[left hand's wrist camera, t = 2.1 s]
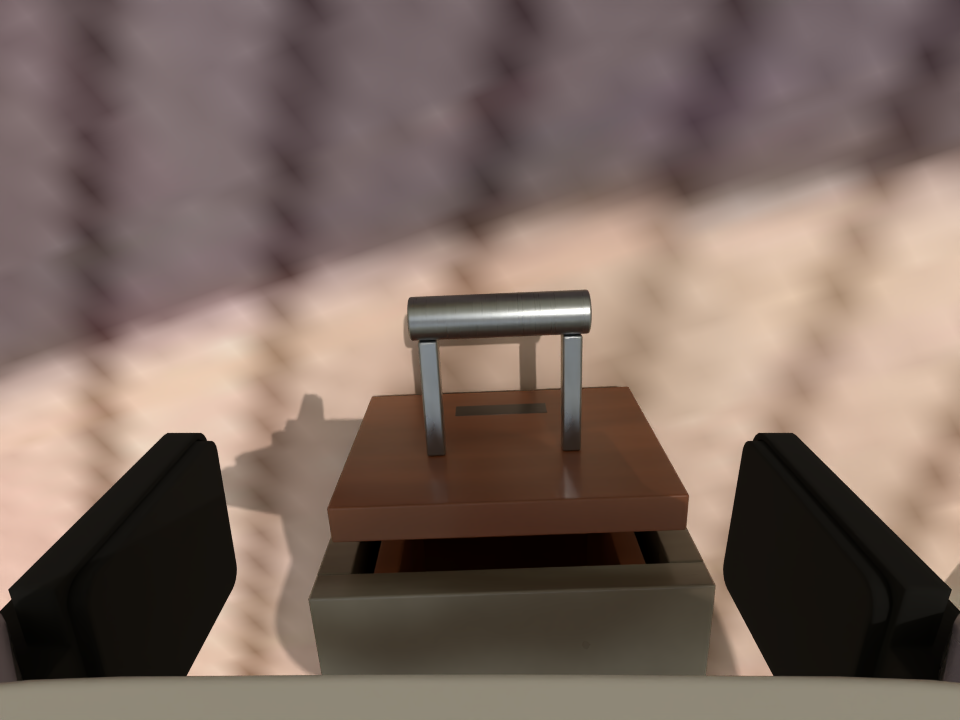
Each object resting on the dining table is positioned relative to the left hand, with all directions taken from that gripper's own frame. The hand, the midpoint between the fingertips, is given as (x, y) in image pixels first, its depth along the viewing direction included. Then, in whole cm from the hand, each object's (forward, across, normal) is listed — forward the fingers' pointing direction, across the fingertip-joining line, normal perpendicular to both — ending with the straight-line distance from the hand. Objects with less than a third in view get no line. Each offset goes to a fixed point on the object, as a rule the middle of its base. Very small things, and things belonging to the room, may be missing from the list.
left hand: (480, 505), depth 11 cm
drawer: (+13, -1, +11) cm, 17 cm away
